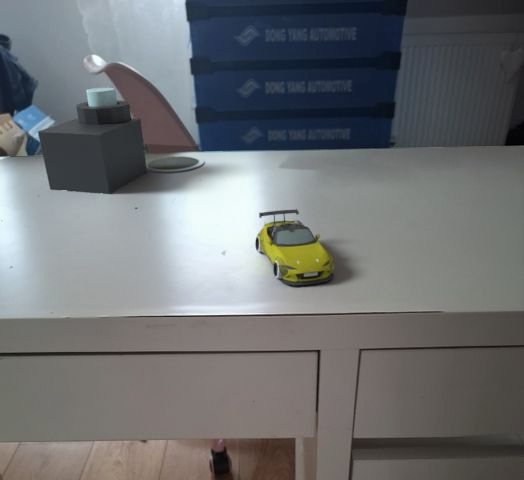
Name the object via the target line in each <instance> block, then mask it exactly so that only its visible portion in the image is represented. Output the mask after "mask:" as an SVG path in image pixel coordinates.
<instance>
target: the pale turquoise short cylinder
mask: <svg viewBox="0 0 524 480" xmlns="http://www.w3.org/2000/svg"><path fill="white" fill-rule="evenodd" d="M86 98H87V102H88V104H89V106H91V107H105V106H114V105H117V100H118V99H117V93H116V88H113V87H93V88H88V89H86Z"/></svg>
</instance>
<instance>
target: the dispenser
mask: <svg viewBox="0 0 524 480" xmlns="http://www.w3.org/2000/svg"><path fill="white" fill-rule="evenodd" d="M75 108H76V114H77V118H74V119H72V120H69V121H66V122H63V123H60V124H57V125H53V126H50V127H46V128H43V129H41V130H38V131H37V134H38V139H39V143H40V148H41V153H42V157H43V158H42V159H43V162H44V167H45V171H46V176H47V180H48V185H49V189H50V191H61V190H67V191H66V192H74V191H75V193H86V194H87V193H90V194H100V193H103V194H102V195H111V194H113V193H114V192H116V191H118V190H120V189H122V188H124V187H125V186H126V185H128V184H130V183H133V181H135V180H137V179H139V178H141V177H142V176H144V175H145V174H147V173H148V170H147V162H146V153H145V145H144V144H145V143H144V137H143V136H144V135H143V129H142V128H143V127H142V121H141V118H138V117H137V118H136V117H135V118H134V117H132V114H131V106H130V102H129V101H125V100H118V99H117V105H114V106H105V107H91V106H89V104H88V101H85V102H80V103H77V104H76V106H75ZM112 192H113V193H112Z"/></svg>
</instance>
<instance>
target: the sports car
mask: <svg viewBox="0 0 524 480" xmlns="http://www.w3.org/2000/svg"><path fill="white" fill-rule="evenodd" d="M287 214H296V216H297V215H299V214H300V212H299V210H298V209H297V208H295V209H282V210H281V209H280V210H272V211H265V212H258V218H259V219H261V218H262V217H267V216H273V221H271V222H268V223H267V222H266V223H264V225H263V227H262V228H261V230H260V231H259V232H258V233H257V235H256V237H255V250H256V252H257V253H263V254H264V255H265V256H267V258H268V259H269V261H270V262H271V264H272V266H273V268H272V269H273V270H272V271H273V277H274V278H275V279H279V281H280V282H281V283H282V284H285V285H289V286H306V285H316V284H323V283H328V282H330V281H331V280H332V279H333V278H334V273H333V272H334V270H335V262H334V259H333V256H332V255H331V253H330V252H329V251H327V250H326V249H325V248H324V247H323V245H322V244H321V243H320V242H319V239H320V238H321V235H320V234H315V235H314V234H313V233H312V230H311V229H310V228H309V227H308V226H305V225H304V223H302V221H300V220H286V216H285V215H287ZM276 215H283V220H277V221H276V217H275V216H276Z"/></svg>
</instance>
